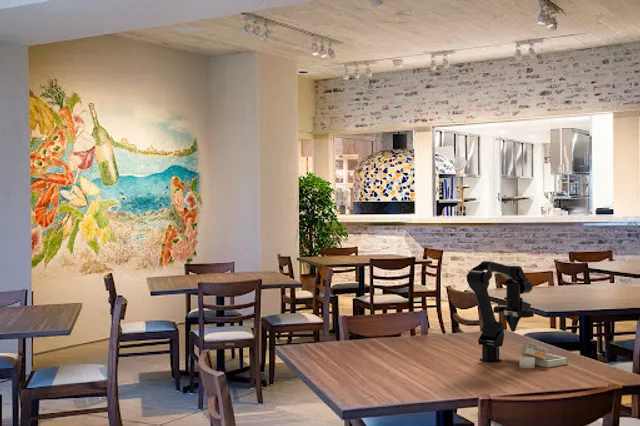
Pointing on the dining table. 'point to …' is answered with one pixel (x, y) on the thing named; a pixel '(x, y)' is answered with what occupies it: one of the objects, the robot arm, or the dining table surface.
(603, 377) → the dining table surface
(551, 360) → the squared c-shaped bracket
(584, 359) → the dining table surface
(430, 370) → the dining table surface
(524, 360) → the white rounded block
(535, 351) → the supplement box
